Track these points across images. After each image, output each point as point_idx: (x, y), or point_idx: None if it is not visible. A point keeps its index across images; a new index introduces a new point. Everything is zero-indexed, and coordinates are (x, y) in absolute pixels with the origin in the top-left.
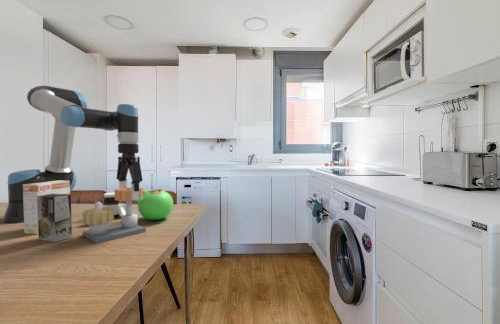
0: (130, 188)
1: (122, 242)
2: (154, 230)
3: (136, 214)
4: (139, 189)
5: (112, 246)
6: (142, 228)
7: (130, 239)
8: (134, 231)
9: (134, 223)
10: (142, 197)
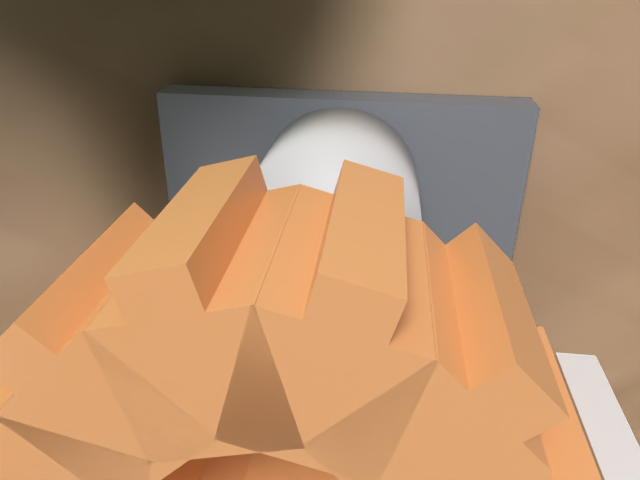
0: (163, 474)
1: (619, 358)
2: (580, 10)
3: (347, 156)
4: (530, 441)
5: (631, 425)
6: (528, 142)
7: (612, 295)
8: (516, 220)
9: (418, 187)
10: (402, 183)
